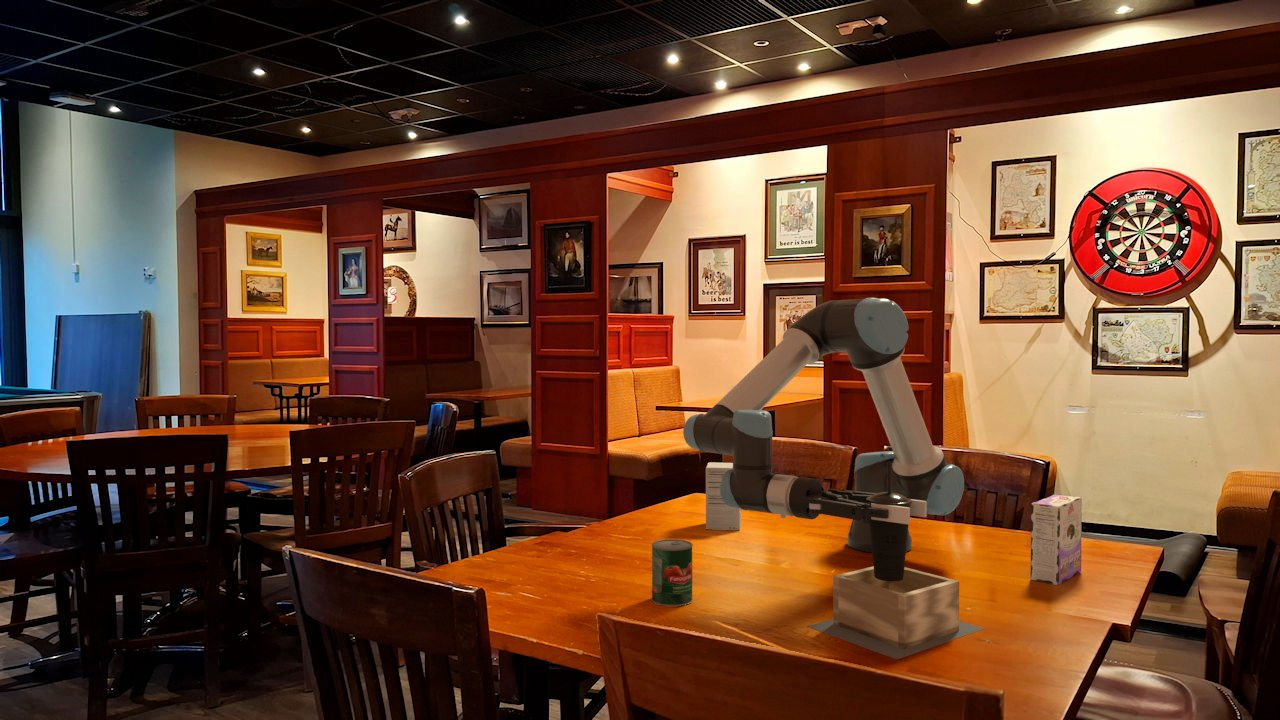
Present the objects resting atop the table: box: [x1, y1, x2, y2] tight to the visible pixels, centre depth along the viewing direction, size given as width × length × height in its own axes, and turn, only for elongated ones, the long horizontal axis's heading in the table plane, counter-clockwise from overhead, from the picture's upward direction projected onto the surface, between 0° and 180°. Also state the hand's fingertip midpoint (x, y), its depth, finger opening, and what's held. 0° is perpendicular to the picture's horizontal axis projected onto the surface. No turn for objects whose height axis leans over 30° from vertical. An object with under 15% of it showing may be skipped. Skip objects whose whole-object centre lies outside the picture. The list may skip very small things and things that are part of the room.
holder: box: [832, 565, 960, 649], centre depth 147 cm, size 15×15×8 cm
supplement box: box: [705, 461, 742, 531], centre depth 228 cm, size 10×9×17 cm
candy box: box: [1030, 494, 1082, 586], centre depth 180 cm, size 14×6×16 cm, turn 135°
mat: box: [806, 618, 986, 660], centre depth 147 cm, size 24×19×1 cm
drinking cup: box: [866, 463, 912, 581], centre depth 147 cm, size 8×8×20 cm
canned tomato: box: [651, 538, 693, 607], centre depth 164 cm, size 8×8×11 cm
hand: (917, 512), depth 144 cm, fingers closed on drinking cup, 7 cm apart
